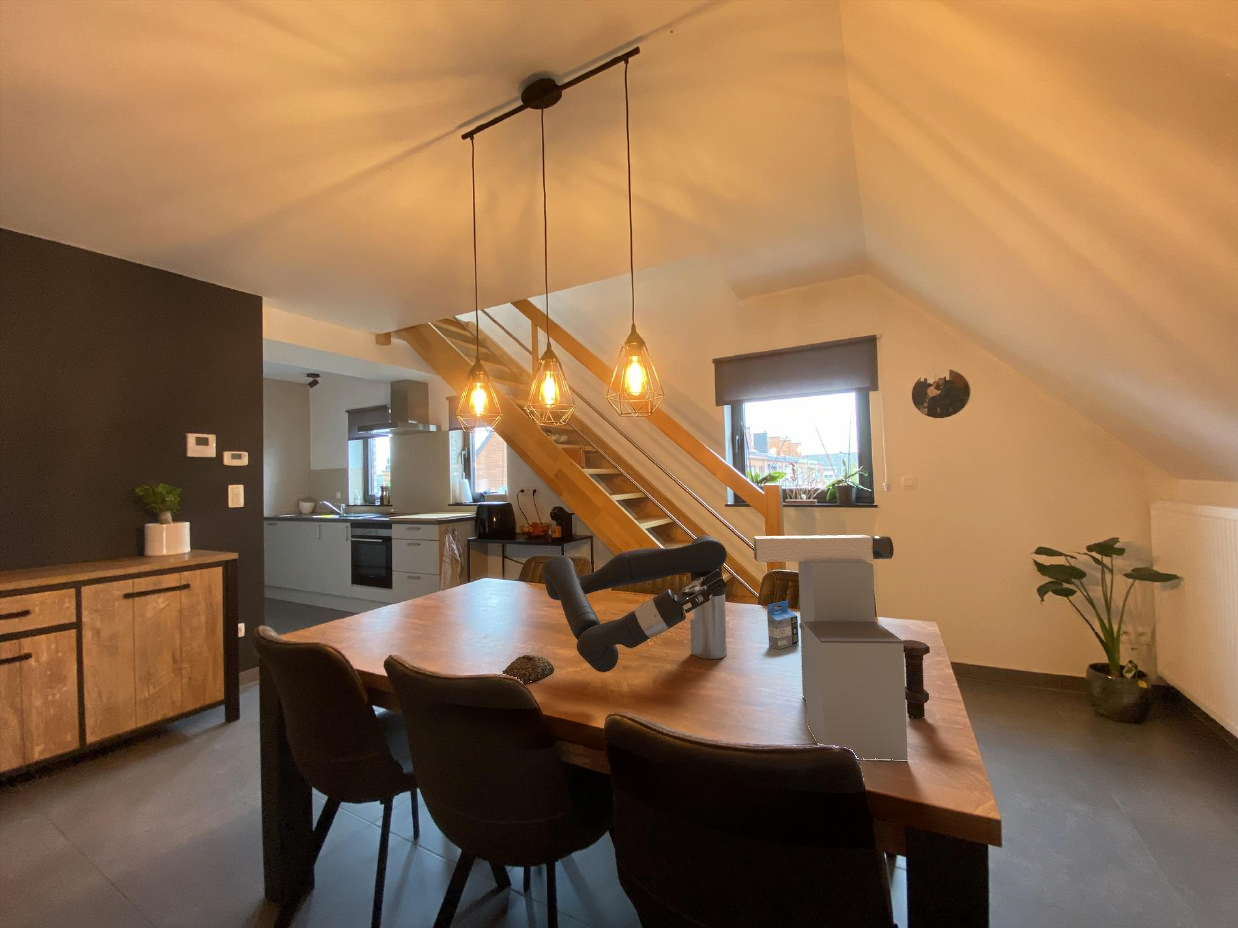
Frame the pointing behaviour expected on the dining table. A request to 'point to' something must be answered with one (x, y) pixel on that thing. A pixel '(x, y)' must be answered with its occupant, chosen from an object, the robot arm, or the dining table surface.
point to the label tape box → (782, 626)
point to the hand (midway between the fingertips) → (722, 577)
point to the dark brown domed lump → (529, 668)
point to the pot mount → (850, 662)
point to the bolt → (915, 677)
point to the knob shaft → (822, 548)
